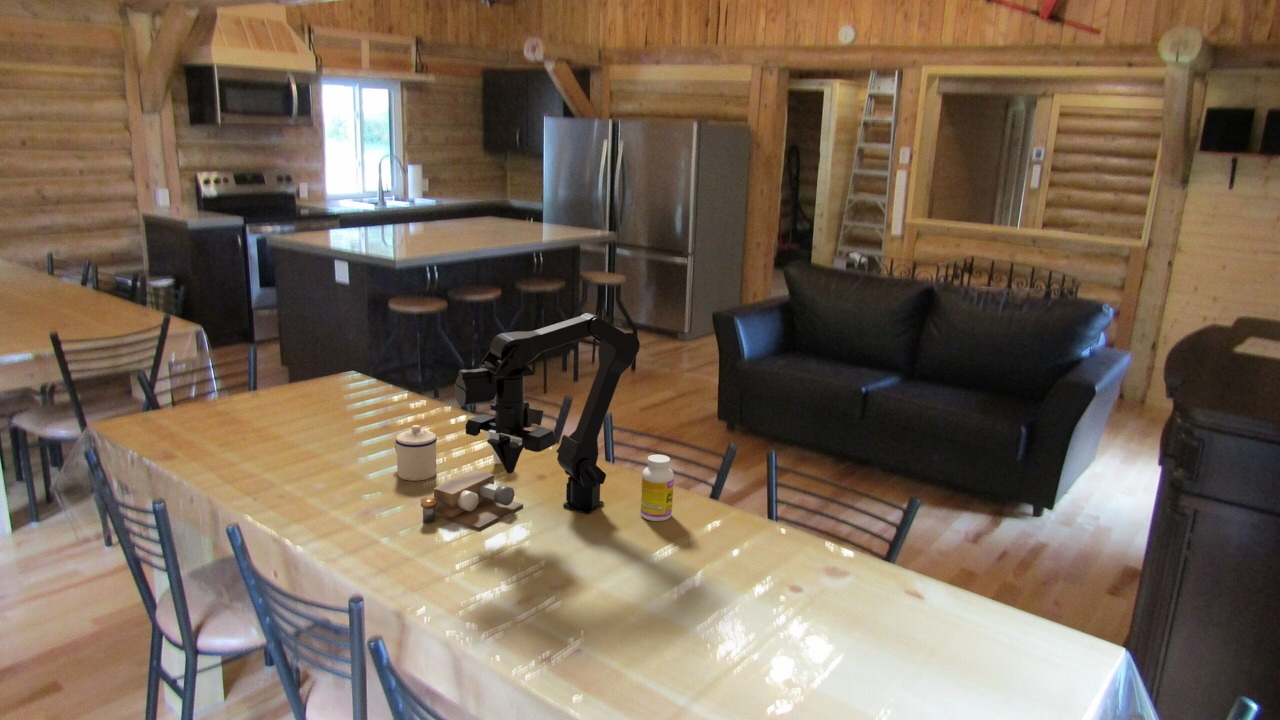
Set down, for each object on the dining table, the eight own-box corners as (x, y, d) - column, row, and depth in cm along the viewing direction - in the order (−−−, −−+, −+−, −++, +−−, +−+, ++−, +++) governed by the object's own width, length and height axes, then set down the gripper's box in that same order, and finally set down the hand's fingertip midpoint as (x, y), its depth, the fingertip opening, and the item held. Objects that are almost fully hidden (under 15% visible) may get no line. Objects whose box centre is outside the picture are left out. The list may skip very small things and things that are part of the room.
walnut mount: (523, 506, 183) (523, 482, 182) (479, 530, 172) (478, 504, 170) (476, 492, 190) (476, 468, 188) (430, 513, 178) (430, 488, 177)
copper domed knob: (440, 520, 176) (440, 499, 174) (429, 525, 173) (428, 504, 172) (428, 516, 177) (428, 495, 176) (417, 521, 174) (417, 500, 173)
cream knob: (478, 507, 179) (478, 490, 178) (466, 513, 175) (465, 496, 174) (445, 497, 183) (445, 480, 182) (433, 502, 180) (432, 485, 179)
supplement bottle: (668, 524, 178) (672, 465, 175) (637, 520, 180) (639, 462, 176) (674, 511, 185) (677, 454, 181) (643, 507, 186) (646, 451, 183)
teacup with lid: (445, 474, 199) (445, 426, 196) (413, 485, 192) (412, 435, 189) (412, 460, 206) (411, 414, 203) (380, 471, 199) (378, 422, 196)
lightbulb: (498, 470, 202) (498, 425, 200) (480, 463, 206) (480, 419, 203) (517, 463, 207) (517, 419, 204) (499, 457, 211) (499, 414, 208)
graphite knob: (514, 502, 182) (514, 485, 181) (502, 508, 179) (502, 491, 178) (481, 491, 186) (481, 475, 185) (469, 497, 183) (469, 480, 182)
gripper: (572, 396, 172) (571, 470, 176) (499, 381, 181) (500, 451, 185) (538, 411, 162) (538, 488, 166) (462, 393, 171) (464, 467, 175)
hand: (510, 472), depth 173 cm, fingers closed
